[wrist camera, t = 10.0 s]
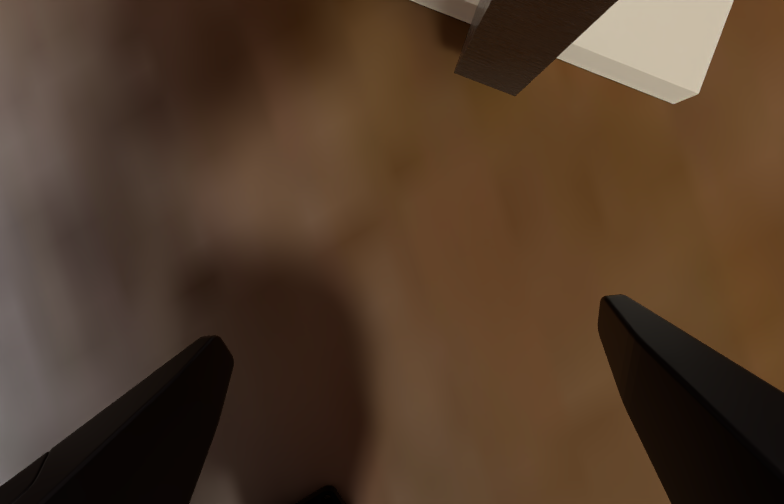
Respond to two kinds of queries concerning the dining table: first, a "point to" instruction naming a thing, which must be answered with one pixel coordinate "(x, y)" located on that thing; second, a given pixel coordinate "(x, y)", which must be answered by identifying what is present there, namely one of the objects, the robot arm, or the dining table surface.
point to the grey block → (522, 38)
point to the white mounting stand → (639, 42)
